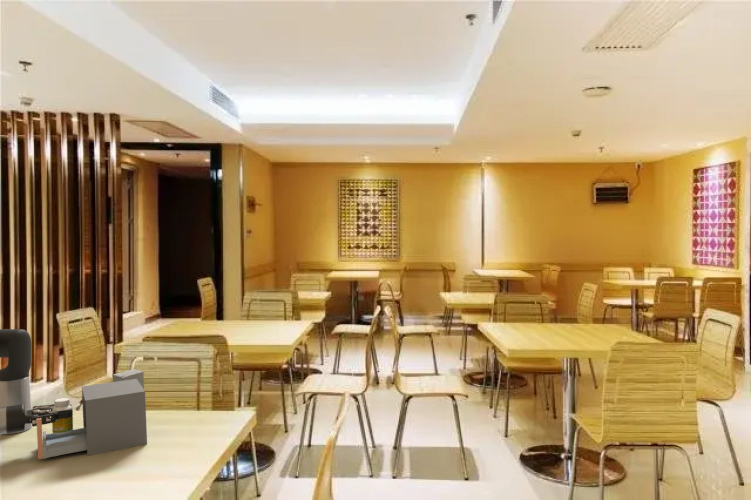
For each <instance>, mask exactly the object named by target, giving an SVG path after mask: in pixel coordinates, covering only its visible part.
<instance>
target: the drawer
mask: <svg viewBox="0 0 751 500" xmlns="http://www.w3.org/2000/svg"><path fill="white" fill-rule="evenodd" d="M36 421H37V426H36V435H37V442H36V443H37V457H38V460H41V459H43V460H44V459H48V458H51V457H57V456H61V455H66V454H67V455H68V454H73V453H78V452H83V451H87V431H86V427H85V428H84V427H82V428H73V430H72V431H71V432H70V433H67V434H61V435H55V434H53V432H52V433H47V431H43V425H42V418H39V419H36Z"/></svg>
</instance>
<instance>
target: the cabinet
mask: <svg viewBox="0 0 751 500" xmlns="http://www.w3.org/2000/svg"><path fill="white" fill-rule="evenodd" d="M81 398H82V399H81V401H82V419H83V420H82V421H83V428H85V427H86V431H87V450H86V454H87V456H93V455H98V454H102V453H103V454H104V453H108V452H114V451H119V450H123V449H130V448H133V447H139V446H143V445H148V435H147V434H148V433H147V431H148V430H147V428H148V427H147V407H146V390H145V388H144V389H143V388H142V386H141V385H140V383H139V382H138V380H137V379H131V380H124V381H117V382H113V381H112V382H111V381H110V382H105V383H104V382H103V383H98V384H91V385H90V384H89V385H83V386H81Z"/></svg>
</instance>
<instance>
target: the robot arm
mask: <svg viewBox="0 0 751 500" xmlns="http://www.w3.org/2000/svg"><path fill="white" fill-rule="evenodd" d="M0 358H4V359H5V358H8V360H7V365H6V366H5V367H3V368H1V369H0V435H11V434H12V435H13V434H17V433H22V432H26V431H28V430H30V429H31V428H32V427H37V421H36V419H39V418H42V426H43V425H48V424H52V423H54V422H56V421H57V420H58V418H59V419H63V418H69V417H72V416H74V414H73V411H74V410H72V409H73V408H72V409H69V410H62V411H52V409H53V408H54V407H55V405H54V403H51V404H44V405H43V404H42V405H34V406H32V403H31V402H32V400H31V384H30V382H31V381H30V370H31V367H32V338H31V335H30V333H29V332H28V331H27V330H25V329H23V328H21V329H20V328H19V329H18V328H13V329H12V328H9V329H8V328H5V329H4V328H1V329H0ZM69 405H70V406H72V407H73V405H72V404H69Z"/></svg>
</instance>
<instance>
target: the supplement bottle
mask: <svg viewBox="0 0 751 500" xmlns="http://www.w3.org/2000/svg"><path fill="white" fill-rule="evenodd" d="M53 401H54V403H53V404H54V405H55V407H54V408H53V409H52V411H62V410H69V409H72V410H73V405H72V406H70V405H69V404H70V403H71V402H70V398H68V397H62V398H56V399H55V400H53ZM73 411H74V410H73ZM73 416H74V415H73ZM73 416H72V417H69V418H63V419H59V418H58V420H57V421H56V422H54V423H51V426H52V429H51V430H52V433H53V434H55V435H61V434H67V433H70V432H71V431H72V430H74V419H73V418H74V417H73Z"/></svg>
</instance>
